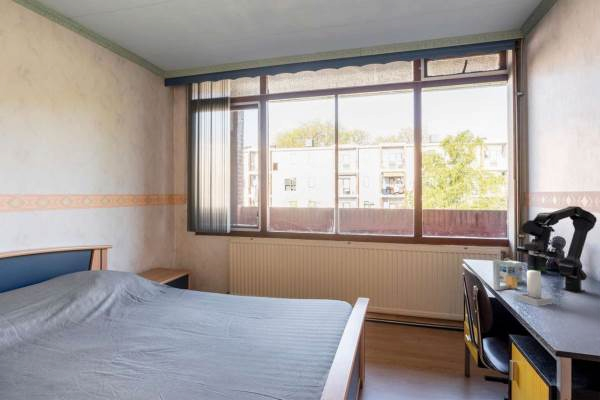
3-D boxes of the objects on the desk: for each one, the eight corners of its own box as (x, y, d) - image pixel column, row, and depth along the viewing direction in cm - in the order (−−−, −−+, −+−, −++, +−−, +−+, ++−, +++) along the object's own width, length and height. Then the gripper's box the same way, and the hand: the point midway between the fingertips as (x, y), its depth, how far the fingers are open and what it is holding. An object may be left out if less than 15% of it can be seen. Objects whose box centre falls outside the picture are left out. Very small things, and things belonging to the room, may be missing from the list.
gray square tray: (531, 297, 149) (531, 292, 149) (552, 303, 140) (552, 298, 140) (516, 299, 146) (516, 294, 146) (536, 306, 137) (536, 300, 137)
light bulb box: (508, 283, 172) (507, 263, 172) (497, 280, 179) (496, 261, 179) (523, 281, 175) (522, 262, 175) (512, 278, 182) (511, 260, 182)
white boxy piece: (510, 286, 167) (510, 257, 167) (535, 293, 154) (534, 262, 154) (491, 288, 163) (491, 259, 163) (515, 296, 151) (514, 264, 151)
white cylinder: (532, 297, 147) (531, 269, 147) (547, 301, 141) (546, 272, 141) (521, 299, 145) (520, 270, 145) (536, 303, 139) (535, 273, 139)
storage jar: (523, 271, 198) (522, 247, 198) (534, 269, 201) (534, 246, 201) (539, 275, 189) (539, 249, 189) (551, 273, 192) (550, 248, 191)
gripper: (511, 232, 158) (505, 263, 157) (552, 237, 141) (545, 272, 140) (526, 237, 162) (520, 267, 161) (568, 242, 145) (561, 276, 143)
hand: (535, 270), depth 151 cm, fingers closed
